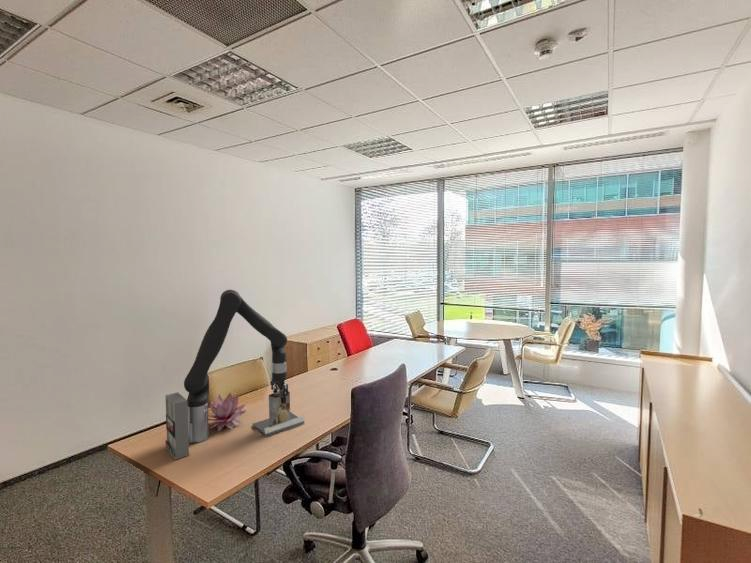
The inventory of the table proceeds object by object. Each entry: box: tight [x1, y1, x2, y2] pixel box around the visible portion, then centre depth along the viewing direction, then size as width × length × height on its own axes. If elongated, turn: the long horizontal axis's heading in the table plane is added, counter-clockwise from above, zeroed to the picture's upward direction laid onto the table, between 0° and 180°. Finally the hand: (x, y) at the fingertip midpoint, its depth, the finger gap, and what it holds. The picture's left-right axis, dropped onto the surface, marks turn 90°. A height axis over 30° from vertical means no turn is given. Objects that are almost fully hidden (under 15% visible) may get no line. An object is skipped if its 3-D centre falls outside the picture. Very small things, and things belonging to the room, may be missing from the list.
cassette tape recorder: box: [164, 392, 190, 461], centre depth 164 cm, size 14×6×25 cm, turn 44°
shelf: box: [252, 411, 305, 438], centre depth 192 cm, size 22×15×4 cm
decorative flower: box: [208, 392, 247, 432], centre depth 190 cm, size 21×21×15 cm
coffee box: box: [268, 390, 291, 426], centre depth 190 cm, size 9×6×16 cm
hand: (279, 401), depth 190 cm, fingers open, 8 cm apart
